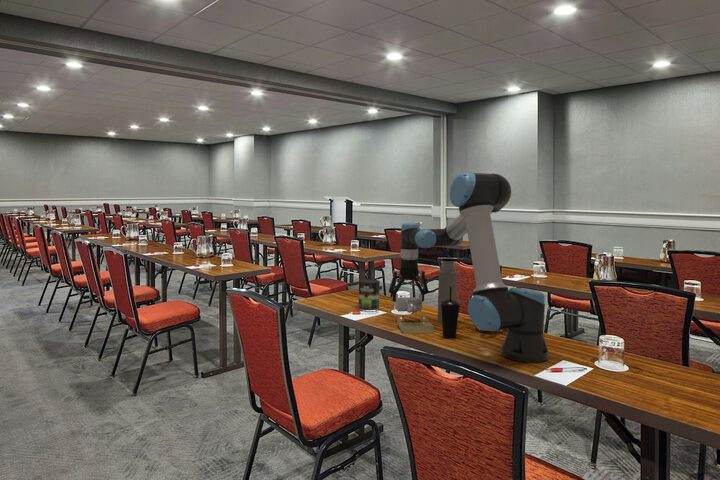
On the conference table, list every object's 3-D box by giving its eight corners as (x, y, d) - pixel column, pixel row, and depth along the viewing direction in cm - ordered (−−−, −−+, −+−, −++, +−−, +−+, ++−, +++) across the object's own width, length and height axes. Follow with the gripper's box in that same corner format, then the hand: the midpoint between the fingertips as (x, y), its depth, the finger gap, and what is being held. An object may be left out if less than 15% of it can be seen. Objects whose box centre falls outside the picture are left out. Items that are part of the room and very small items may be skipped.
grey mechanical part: (395, 308, 218) (395, 297, 218) (417, 308, 219) (418, 297, 219) (401, 314, 206) (401, 303, 206) (424, 314, 208) (424, 302, 207)
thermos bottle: (437, 319, 221) (438, 257, 219) (455, 319, 220) (456, 257, 218) (438, 323, 213) (439, 259, 211) (456, 324, 212) (458, 259, 210)
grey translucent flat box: (433, 333, 198) (433, 322, 197) (403, 333, 196) (403, 322, 196) (425, 325, 210) (425, 314, 210) (396, 325, 209) (397, 315, 209)
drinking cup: (459, 340, 188) (460, 288, 186) (439, 339, 189) (440, 287, 188) (459, 335, 195) (460, 285, 194) (440, 333, 197) (441, 284, 195)
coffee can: (376, 312, 233) (376, 283, 232) (355, 310, 236) (355, 281, 235) (381, 308, 243) (382, 279, 242) (361, 306, 246) (362, 278, 245)
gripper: (432, 257, 219) (431, 306, 221) (382, 257, 216) (381, 307, 218) (437, 259, 212) (435, 310, 213) (385, 259, 209) (384, 311, 211)
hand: (408, 309), depth 216 cm, fingers closed on grey mechanical part, 10 cm apart
